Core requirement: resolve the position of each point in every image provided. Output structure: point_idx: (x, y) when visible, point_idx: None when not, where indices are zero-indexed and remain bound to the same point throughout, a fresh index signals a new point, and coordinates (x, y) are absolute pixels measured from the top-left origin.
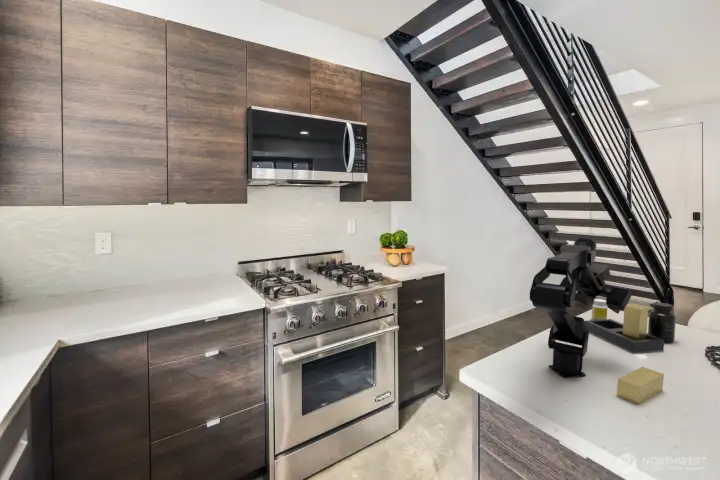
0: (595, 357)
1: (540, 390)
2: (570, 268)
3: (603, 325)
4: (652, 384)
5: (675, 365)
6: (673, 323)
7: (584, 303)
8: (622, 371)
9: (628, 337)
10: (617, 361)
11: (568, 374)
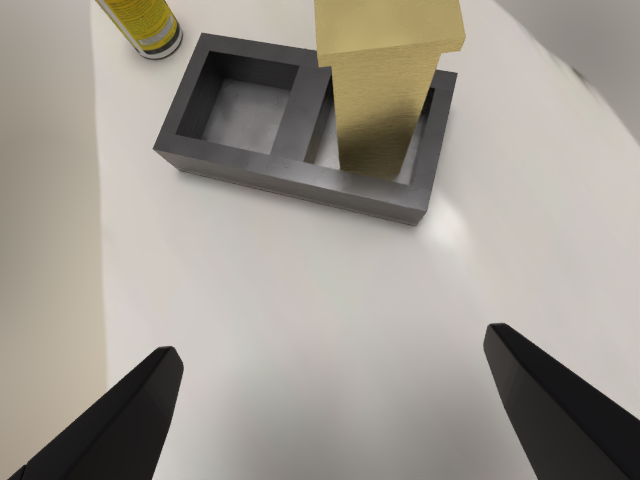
0: (379, 412)
1: None
2: None
3: (209, 91)
4: None
5: (549, 195)
6: None
7: (165, 419)
8: (523, 453)
9: (364, 160)
10: (444, 364)
11: None
